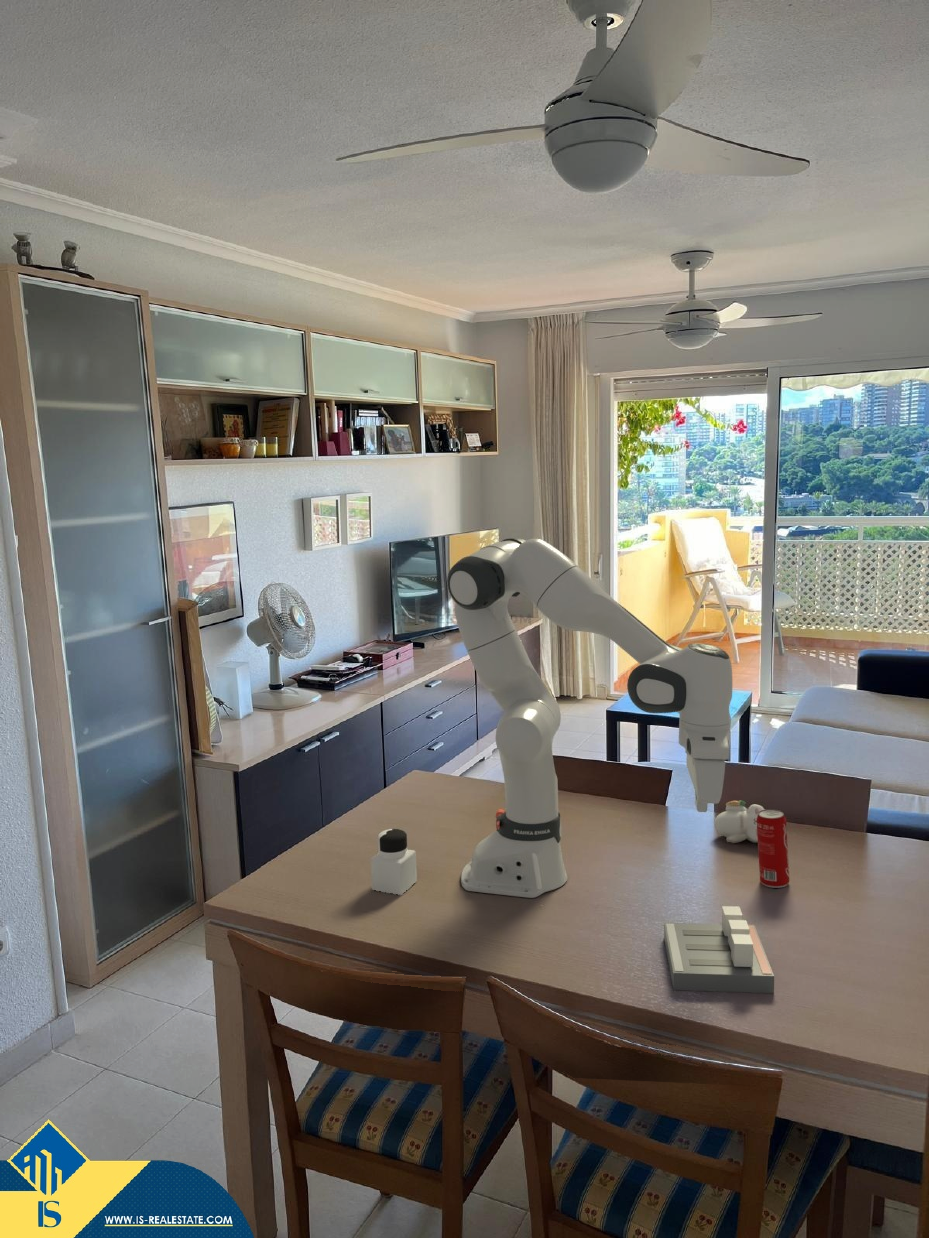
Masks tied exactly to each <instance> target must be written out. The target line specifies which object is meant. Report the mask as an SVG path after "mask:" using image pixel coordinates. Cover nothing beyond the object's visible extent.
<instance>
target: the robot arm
mask: <svg viewBox="0 0 929 1238" xmlns="http://www.w3.org/2000/svg"><path fill="white" fill-rule="evenodd" d="M446 579H447V580H446V583H447V584H446V585H447V589H448V593H449V595H450V597H451V598H452V600H453V601H454V602H455V604H454V609H453V610H454V615H455V620H456V623H457V627H458V631H459V634H460V636H461V639H462V641H463V642H462V643H463V645H464V647H465V650H466V651H467V654H468V656H469V658H470V660H471V662H472V665H473V667H474V670H475V671H476V674H477V677H478V679H479V680H480V683H481V684H482V686H483V688H485V689H486V690H488V692H489V693H490V695H491V696H492V697H493V698H494V700H495V701H496V704H498V705H499V708H500V709H501V710H502V713H503V714H502V715H501V717H500V719H499V720H498V723H497V725H496V726H497V727H496V730H495V745H496V747H497V750H498V753H499V759H500V764H501V768H502V773H503V779H504V780H503V781H504V803H505V810H504V809H503V808H499V809H497V810H496V812H495V818H496V820H495V826H496V827H495V828H496V830H495V831H493V832H492V833H491V834H489V835H488V836H486V837H485V838H484V839H482V840H480V842H479V843H478V844H477V845H476V847H475V848H474V851H473V853H472V857H471V861H470V862H468V863H466V865H465V866H464V867H463V869H462V872H461V878H460V883H461V884H460V885H461V887H462V888H463V889H464V890H466V891H467V892H476V893H477V892H478V893H485V894H492V895H494V894H495V895H502V896H509V897H510V896H511V897H520V898H521V897H522V898H529V899H534V898H537V897H539V896H541V895H542V894H544V893H546V892H550V891H553V890H556V889H558V888H560V887H562V886H563V885H565V883H566V882H567V881H568V874H567V870H566V867H565V863H564V860H563V859H564V858H563V854H562V848H561V840H562V819H561V813H560V812H559V794H558V793H559V788H558V786H559V785H558V777H557V774H556V769H555V768H556V767H555V763H554V757H553V741H554V737H555V735H556V733H557V732H558V730H559V728H560V726H561V721H562V720H561V708H560V706H559V705H560V704H559V703H558V701H557V700H556V699H555V697H554V696H553V695H552V694H551V692H550V691H549V689H548V688H547V686H546V684H545V683H544V680H542V678H541V677H540V675H539V673H538V672H537V670H536V669H535V667H534V665H533V664H532V661H531V660H530V658H529V655H528V653H527V650H526V648H525V647H524V644H523V642H522V640H521V638H520V635H519V633H518V631H517V628H516V626H515V624H514V622H513V620H512V618H511V616H510V613H509V610H508V609H509V608H508V606H509V605H508V604H509V600H510V599H511V597H515V598H516V597H518V596H519V595H520V594H522V595H524V596H525V597H526V598H527V599H528V600H529V601H530V602H531V603H532V605H534V606H535V607H536V608H537V609H538V610H539V611H540V612H541V614H543V615H544V616H545V617H546V618H547V619H548V620H550V621H551V622H552V623H554V624H555V625H557V626H558V627H560V628H562V629H563V630H566V631H571V632H586V633H591V634H597V635H599V636H602V637H605V638H607V639H609V640H611V641H612V642H614V644H616V645H617V646H618V647H619V648H620V649H622V650H623V651H624V652H625V653H626V654H628V655H629V656H630V657H631V658H632V659H633V660H635V661H636V662H637V663H638V664H639V665H637V666H636V667H634V668H633V670H632V671H631V672H630V674H629V676H628V678H627V684H626V687H627V688H626V690H627V693H628V697H629V699H630V701H631V703H632V704H634V705H635V706H636V707H637V709H639V710H640V711H642V712H645V713H649V714H670V713H678V714H679V724H678V745H680V746H681V747H683V748H684V749H685V751H684V752H685V754H686V761H685V762H686V768H687V770H688V774H689V777H690V779H691V783H692V785H693V790H694V796H695V797H694V798H695V800H694V804H695V808H696V811H697V812H699V813H706V812H707V811H708V805H709V804H715V805H716V804H719V803H720V802H721V799H722V793H723V788H724V787H723V786H724V781H725V772H726V771H725V770H726V760H730V751H731V750H730V747H731V745H730V744H731V741H730V740H731V724H732V723H731V721H732V717H731V714H730V704H731V701H732V699H733V668H732V667H733V666H732V660H731V658H730V655H729V654H728V652H726V651H725V650H724V649H722V648H721V647H718V646H715V645H712V644H709V643H700V642H693V643H690V644H687V645H686V646H685V647H683V648H682V647H679V646H676V645H673V644H671V643H669V642H667V641H665V640H664V639H663V638H661V637H660V636H658V634H657V633H655V632H654V631H653V630H652V629H650V627H648V626H647V625H645V624H644V623H643V622H642V621H641V620H640V619H639V618H637V617H636V616H635V615H634V614H633V613H631V612H630V611H629V610H628V609H626V608H625V607H624V606H623V605H621V604H620V603H618V602H617V601H616V600H615V599H614V598H613V597H612V596H611V595H609V594H608V593H607V592H606V591H605V590H604V589H602V588H601V586H599V585H598V584H597V582H595V581H594V579H592V578H591V577H590V576H589V575H588V574H587V573H586V572H585V571H584V570H582V568H580V566H578V564H576V563H575V562H574V561H573V560H572V559H571V558H569V557H568V556H567V555H566V554H564V553H563V552H562V551H560V550H559V548H557V547H555V546H554V545H552V544H551V543H549V542H547V541H545V539H544V540H543V539H541V538H536V537H535V538H529V539H527V540H526V539H523V538H519V537H512V538H506V539H502V540H501V541H499V542H495V543H492V544H488V545H486V546H483V547H482V548H480V549H479V550H476V552H475V551H474V553H472V554H470V555H469V556H465V557H462V558H461V559H460V560H458V561H457V562H456V563H454V564H453V566H452V567H451V568H450V569H449V571H448V574H447V577H446Z"/></svg>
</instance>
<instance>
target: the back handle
mask: <svg viewBox="0 0 929 1238" xmlns="http://www.w3.org/2000/svg"><path fill="white" fill-rule="evenodd" d="M728 920H744V919H743V913H742V909H741V907H740V906H728V905H727V906H726V905H724V906H723V905H722V906H721V924H722V929H723V932H724V935H725V936H728Z"/></svg>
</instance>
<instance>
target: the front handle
mask: <svg viewBox="0 0 929 1238" xmlns="http://www.w3.org/2000/svg"><path fill="white" fill-rule="evenodd" d="M731 958H732V961H733V964H734V966H737V967H753V942H752V940H751V937H750V935H746V934H731Z"/></svg>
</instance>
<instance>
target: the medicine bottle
mask: <svg viewBox="0 0 929 1238" xmlns="http://www.w3.org/2000/svg"><path fill="white" fill-rule="evenodd" d="M407 836H408V834H407V832H405V830H403V829H399V828H389V829H384V830H383V831H381V832H380V833H378V836H377V843H378V845H377V848H378V853H377V854H375V855H374V856H372V857H371V858H370V870H371V873H370V874H371V888H372V889H371V890H372V891H374V890H376V891H375V892H379V891H381V892H380V893H385V892H386V893H385V894H390V893H393V894H392V895H396V894H398V895H397V896H402V895H404V894H405V893H406V892H407V891H408V890H409V889H410V888H412V887H413V886H414V885H415V884H416V883H417V882H418V875H417V873H418V872H417V871H418V870H417V854H416V850H413V849H408V837H407ZM414 883H415V884H414ZM413 884H414V885H413ZM412 885H413V886H412ZM406 890H407V891H406ZM404 892H405V893H404ZM403 893H404V894H403Z"/></svg>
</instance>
